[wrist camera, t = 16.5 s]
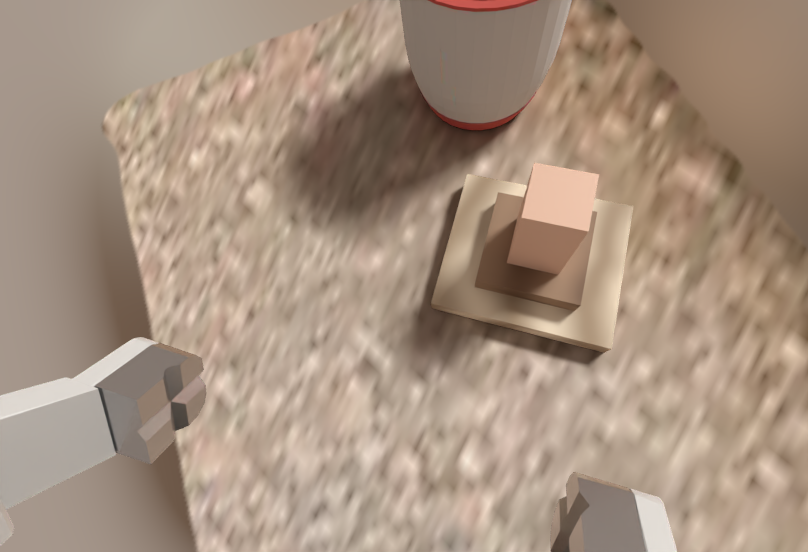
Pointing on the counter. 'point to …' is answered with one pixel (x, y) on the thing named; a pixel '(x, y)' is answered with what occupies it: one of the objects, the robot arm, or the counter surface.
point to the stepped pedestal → (532, 270)
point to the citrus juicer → (481, 55)
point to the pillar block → (552, 217)
